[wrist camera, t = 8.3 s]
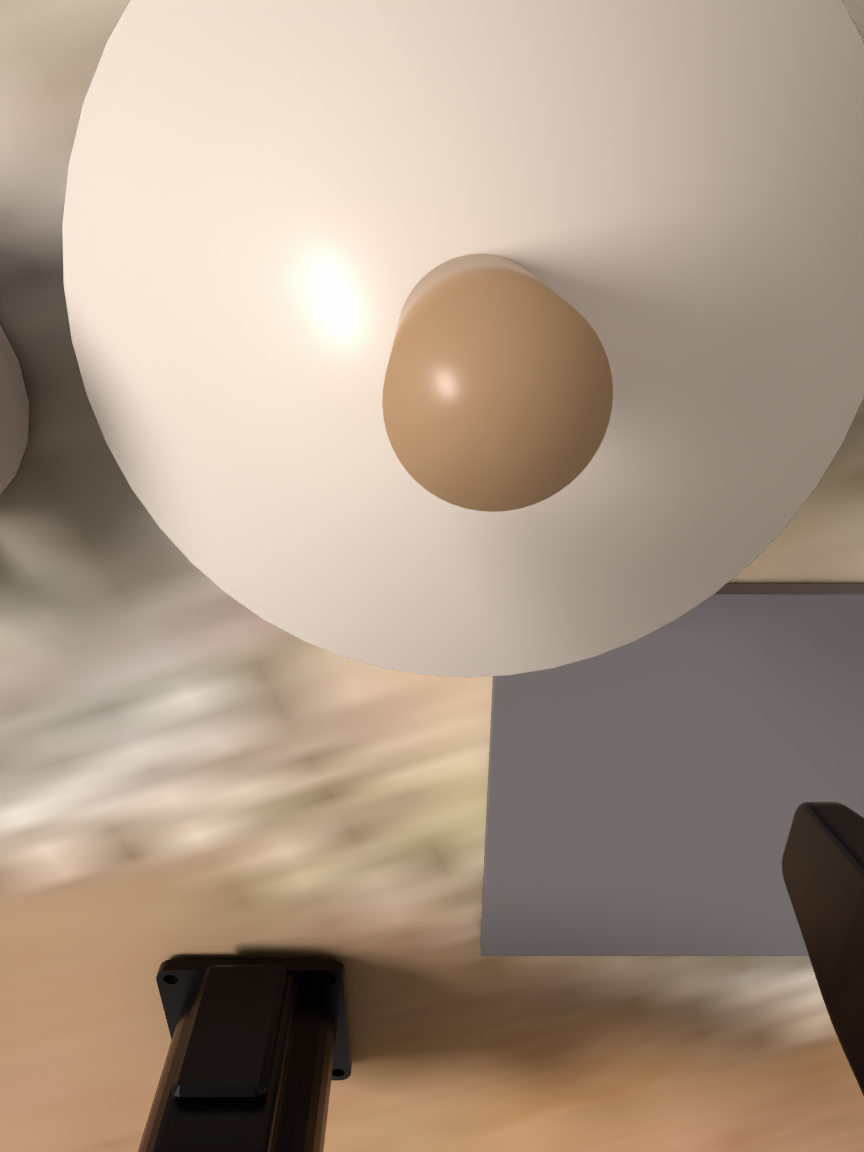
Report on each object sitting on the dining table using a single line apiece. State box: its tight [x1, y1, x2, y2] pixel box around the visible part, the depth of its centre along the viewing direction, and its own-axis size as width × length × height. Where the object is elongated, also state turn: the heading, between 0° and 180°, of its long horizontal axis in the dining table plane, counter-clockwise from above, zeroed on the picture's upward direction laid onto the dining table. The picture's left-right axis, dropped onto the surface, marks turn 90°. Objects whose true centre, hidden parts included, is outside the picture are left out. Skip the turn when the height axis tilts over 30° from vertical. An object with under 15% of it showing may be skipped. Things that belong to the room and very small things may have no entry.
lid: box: [62, 0, 864, 677], centre depth 11 cm, size 13×13×5 cm
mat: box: [480, 583, 864, 956], centre depth 23 cm, size 14×14×1 cm
